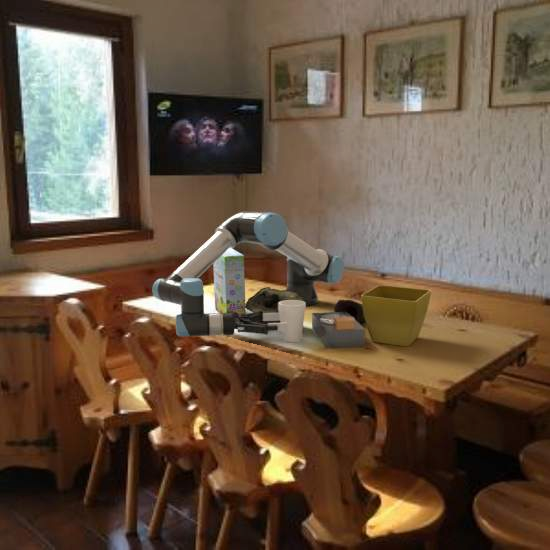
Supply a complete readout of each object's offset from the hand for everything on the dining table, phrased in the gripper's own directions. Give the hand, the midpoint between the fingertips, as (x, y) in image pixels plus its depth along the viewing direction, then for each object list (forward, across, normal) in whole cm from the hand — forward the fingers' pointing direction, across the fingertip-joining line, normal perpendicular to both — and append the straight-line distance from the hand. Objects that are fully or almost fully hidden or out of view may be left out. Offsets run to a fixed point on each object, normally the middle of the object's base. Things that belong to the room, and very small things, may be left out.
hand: (284, 321), depth 211 cm
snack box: (-17, -39, -7) cm, 43 cm away
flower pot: (+38, +5, -7) cm, 39 cm away
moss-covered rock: (0, -22, -7) cm, 23 cm away
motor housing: (+19, -1, -7) cm, 20 cm away
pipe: (+29, -22, -7) cm, 38 cm away
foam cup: (+3, -1, -7) cm, 7 cm away
